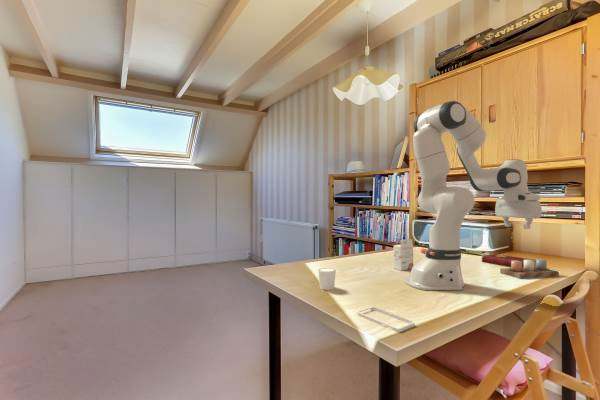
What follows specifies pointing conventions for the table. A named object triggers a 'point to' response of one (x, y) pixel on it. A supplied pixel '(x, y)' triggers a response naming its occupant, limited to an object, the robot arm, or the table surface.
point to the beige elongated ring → (388, 315)
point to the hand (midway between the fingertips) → (517, 227)
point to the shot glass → (327, 278)
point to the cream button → (528, 265)
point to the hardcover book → (503, 259)
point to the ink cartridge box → (403, 255)
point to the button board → (529, 273)
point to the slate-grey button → (541, 264)
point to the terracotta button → (516, 266)
